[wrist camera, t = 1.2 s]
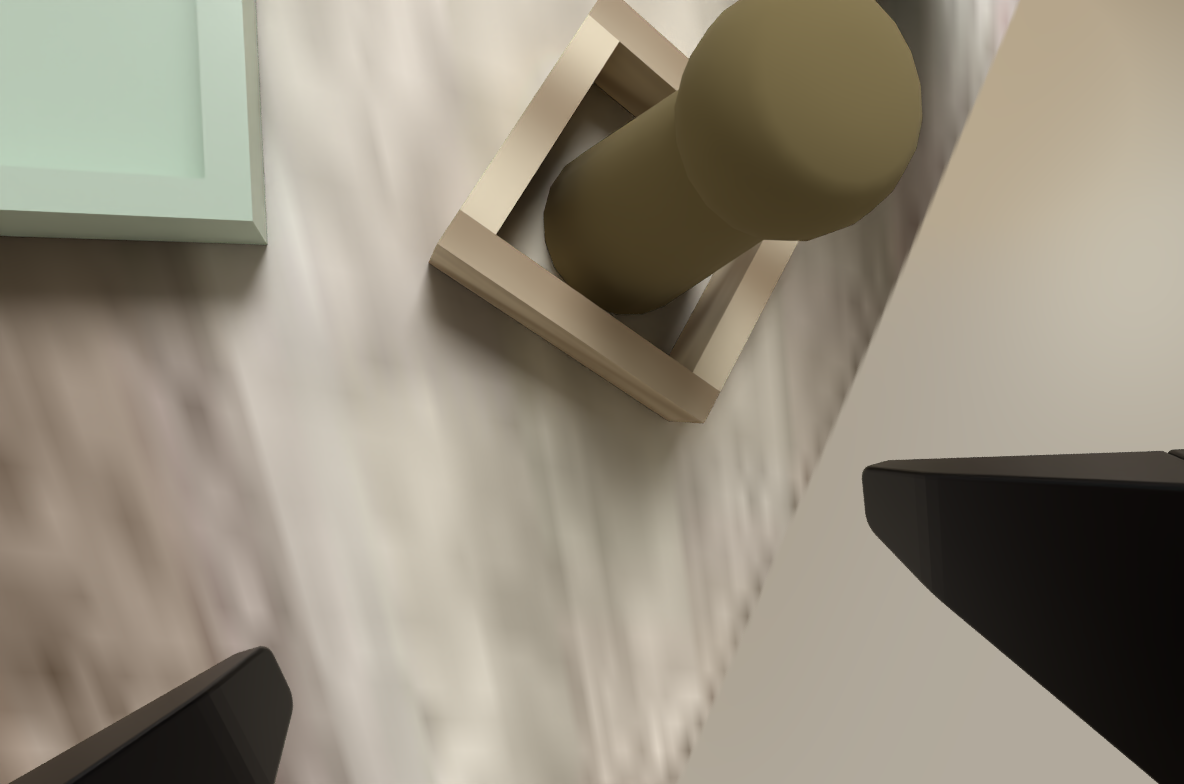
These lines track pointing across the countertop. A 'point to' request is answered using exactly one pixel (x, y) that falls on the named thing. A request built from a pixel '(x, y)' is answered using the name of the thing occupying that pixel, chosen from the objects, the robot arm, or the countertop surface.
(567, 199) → the cork
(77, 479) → the countertop surface
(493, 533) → the countertop surface
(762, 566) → the countertop surface
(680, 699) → the countertop surface
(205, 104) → the sage green tray
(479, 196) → the wooden collar
